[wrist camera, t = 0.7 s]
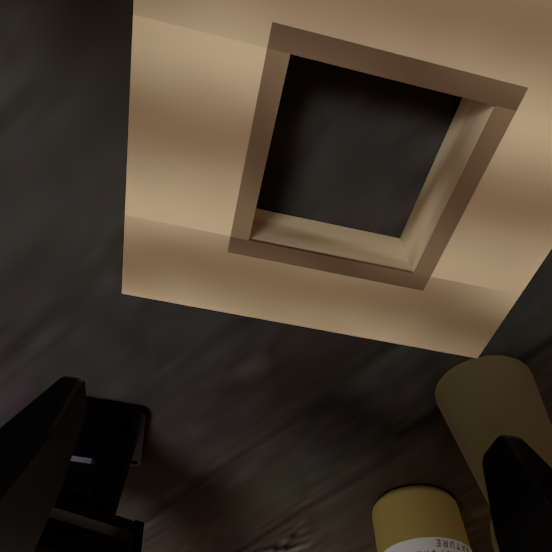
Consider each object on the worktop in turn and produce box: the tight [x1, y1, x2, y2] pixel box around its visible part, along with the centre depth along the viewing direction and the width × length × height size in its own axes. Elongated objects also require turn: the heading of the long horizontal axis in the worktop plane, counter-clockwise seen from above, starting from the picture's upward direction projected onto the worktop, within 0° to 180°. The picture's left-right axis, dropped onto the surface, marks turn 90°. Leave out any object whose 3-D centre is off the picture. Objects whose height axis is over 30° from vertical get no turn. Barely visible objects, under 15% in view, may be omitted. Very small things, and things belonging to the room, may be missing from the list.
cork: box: [434, 355, 552, 552], centre depth 25 cm, size 6×6×11 cm
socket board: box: [122, 0, 552, 358], centre depth 19 cm, size 16×18×3 cm
